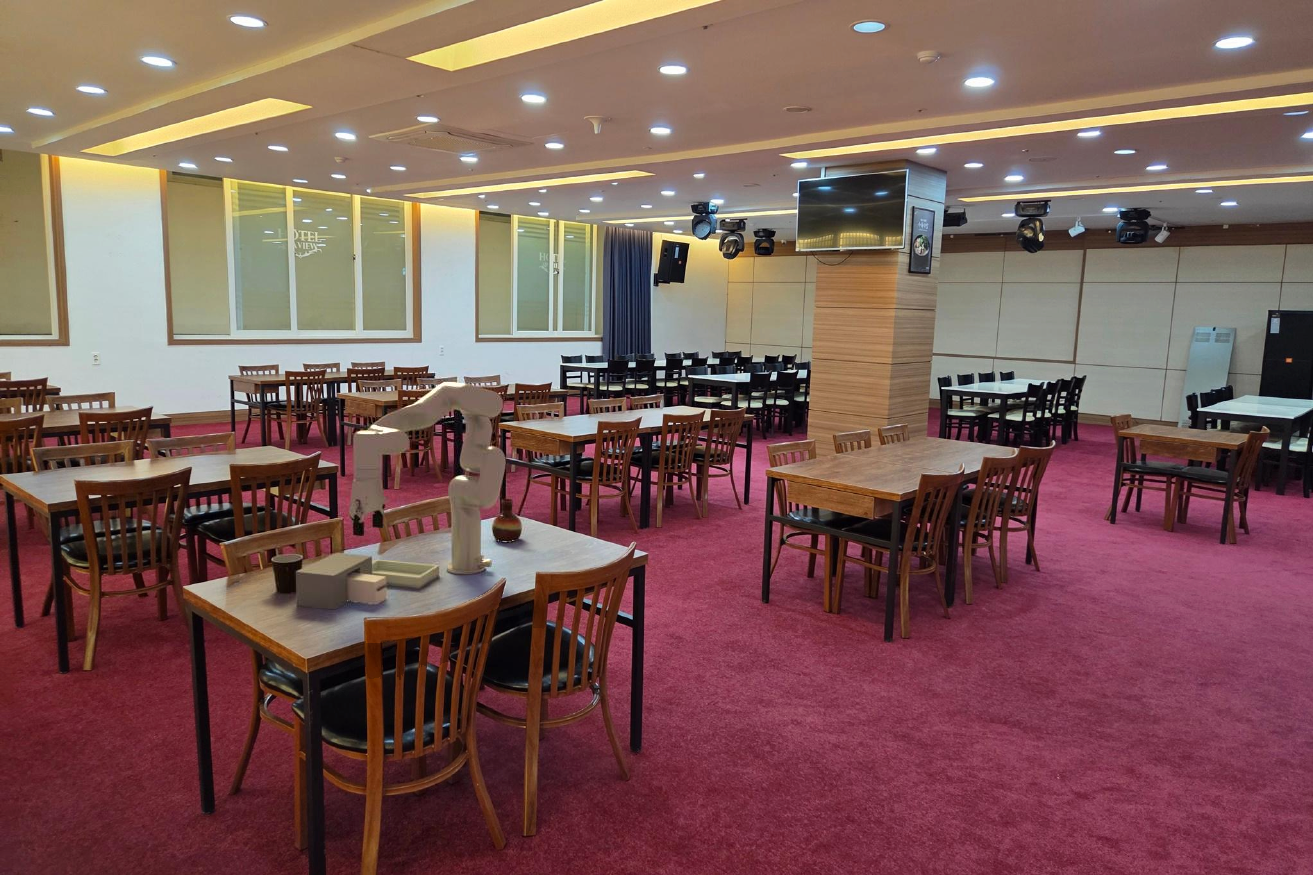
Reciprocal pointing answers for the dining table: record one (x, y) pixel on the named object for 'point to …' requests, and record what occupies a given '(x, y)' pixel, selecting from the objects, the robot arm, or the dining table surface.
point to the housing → (329, 580)
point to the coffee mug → (286, 572)
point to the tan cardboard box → (366, 588)
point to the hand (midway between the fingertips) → (368, 531)
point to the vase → (506, 523)
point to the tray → (405, 573)
